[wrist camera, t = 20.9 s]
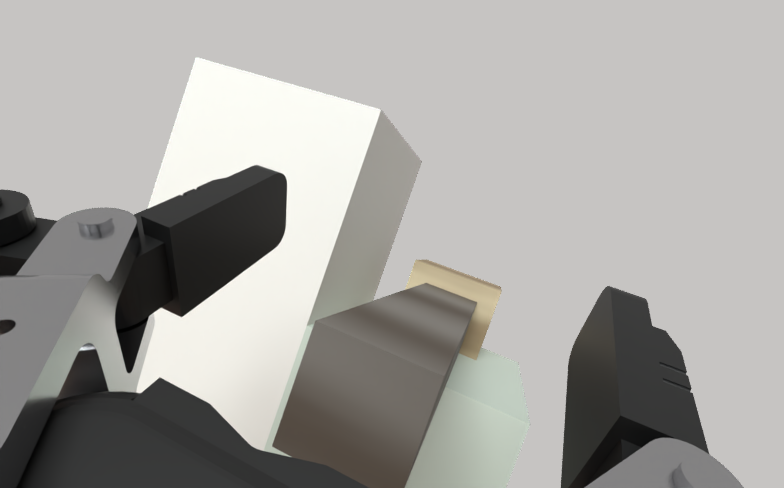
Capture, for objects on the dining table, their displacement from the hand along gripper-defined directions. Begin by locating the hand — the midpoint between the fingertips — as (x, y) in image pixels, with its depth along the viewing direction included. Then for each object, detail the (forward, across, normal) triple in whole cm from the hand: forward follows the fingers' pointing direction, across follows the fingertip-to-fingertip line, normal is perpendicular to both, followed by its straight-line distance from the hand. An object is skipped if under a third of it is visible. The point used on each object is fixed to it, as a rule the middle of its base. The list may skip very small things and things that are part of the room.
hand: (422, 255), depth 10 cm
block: (+4, 0, +8) cm, 9 cm away
